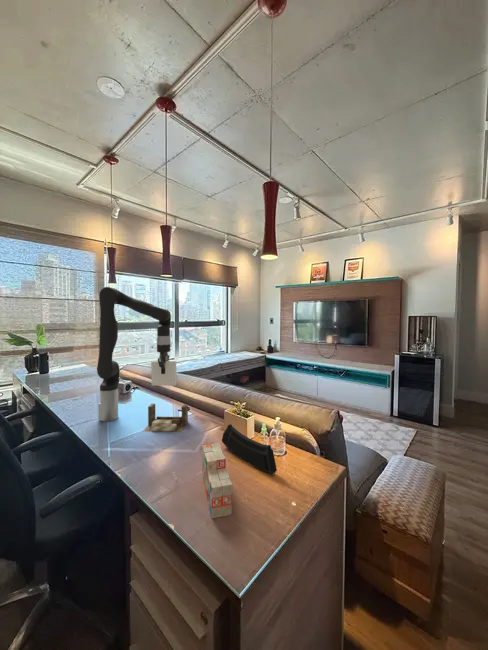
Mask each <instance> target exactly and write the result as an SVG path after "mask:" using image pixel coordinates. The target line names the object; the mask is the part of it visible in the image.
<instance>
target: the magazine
mask: <svg viewBox="0 0 488 650" xmlns="http://www.w3.org/2000/svg"><path fill="white" fill-rule="evenodd" d="M221 442H222V443H223V445H224V446H225V447H226V448H227V450H230V451H231V452H232V453H233V454H234V455H235V456H237V457H238V458H239V459H240V460H242V461H243V462H245V463H247V464H248V465H250V466H252V467H254V468H257V469H259V470H262V471H263V472H266V473H268V474H270V475H273V474H275V473H277V472H278V469H277V463H276V459H275V454H274V451H273V448H272V445H271V444H263V443H261V442H258V441H256V440H254V439H252V438H250V437H248V436H246V435H244V434H243V433H242V432H240V431H239V430H238V429H236V428H235V427H234V426H233V425H232V424H231V423H229V424H228V425H227V427H226V429H224V432H223V433H222V437H221Z"/></svg>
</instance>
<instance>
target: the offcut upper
mask: <svg viewBox="0 0 488 650" xmlns="http://www.w3.org/2000/svg"><path fill="white" fill-rule="evenodd" d="M171 424H172V420H154V421H153V422H152V427H170V426H171Z"/></svg>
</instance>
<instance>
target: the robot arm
mask: <svg viewBox="0 0 488 650" xmlns="http://www.w3.org/2000/svg"><path fill="white" fill-rule="evenodd" d="M98 297H99V298H98V299H99V311H100V312H99V313H100V316H99V342H98V343H99V345H98V348H99V349H98V360H97V368H96V372H97V376H98V377H99V378H101V379H102V382H101V384H100V386H99V403H98V421H101V422H105V423H106V422H113V421H115V420H117V419H119V383H120V369H121V368H120V365H119V363H118V362H117V361H115V360H113V353H114V350H115V347H116V344H117V342H118V337H119V336H118V335H119V326H118V322H117V319H116V315H115V305H119V306H123V307H126V308H128V309H131V310H132V311H135V312H137V313H139V314H142V315H144V316H148V317H150V318H153V319H155V320H157V321H158V326H157V330H156V335H157V336H156V353H159V357H158V358H157V361H158V363H159V367H161V374H165V363H166V361H170V354H169V352H171V321H172V315H171V312H170V310H168V309H166V308H162V307H158V306H156V305H154V304H151V303H149V302H146V301H144V300H141V299H139V298H135V297H132V296H129V295H127V294H125V293H123V292H122V291H120V290H118V289H117V288H115V287H111V286H104V287H103V288H102V289H100V291H99V294H98ZM163 361H164V362H163Z"/></svg>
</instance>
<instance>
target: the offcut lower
mask: <svg viewBox="0 0 488 650" xmlns="http://www.w3.org/2000/svg"><path fill="white" fill-rule="evenodd" d="M176 428H177V424H171V426H170V427H152V426H151V431H175V429H176ZM151 431H150V432H151Z"/></svg>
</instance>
